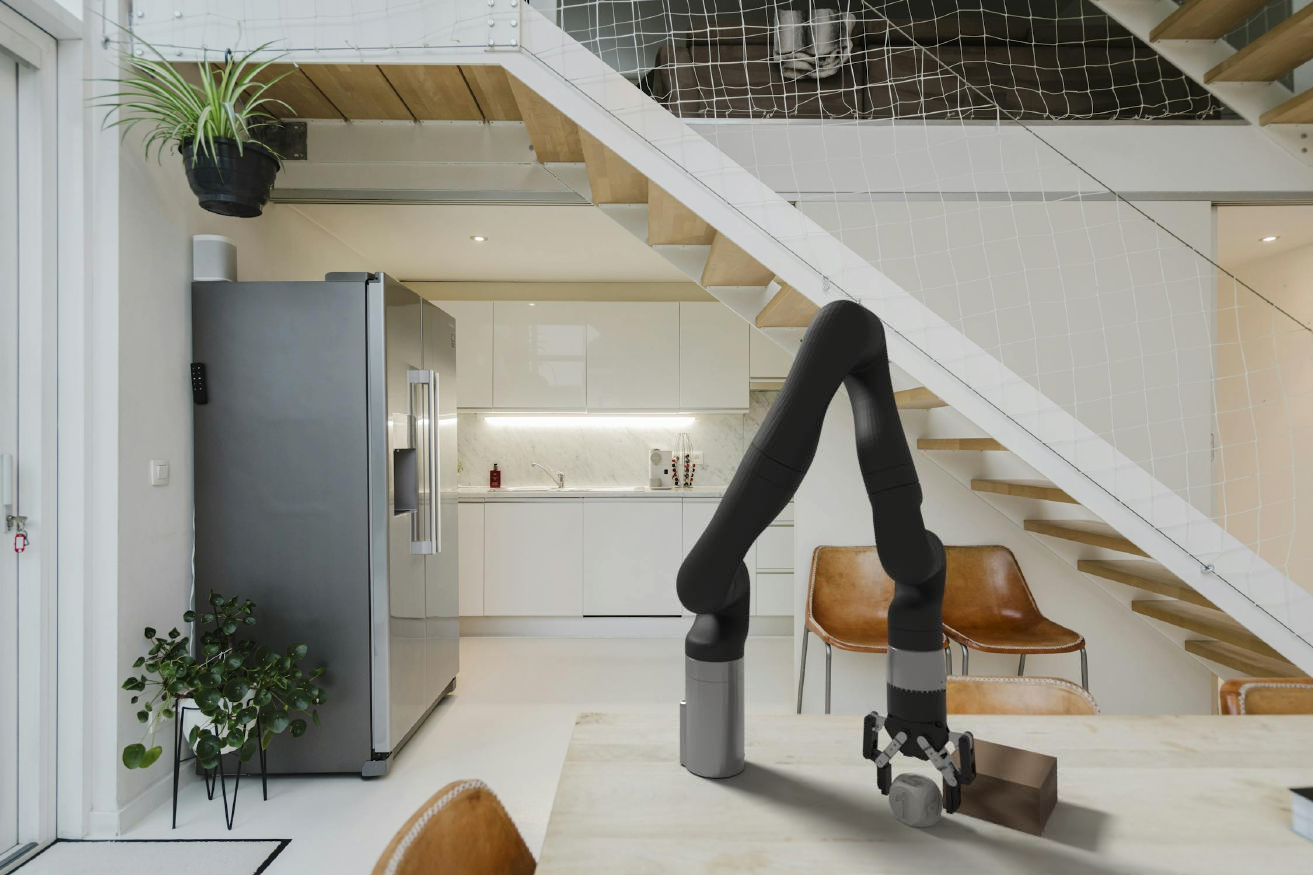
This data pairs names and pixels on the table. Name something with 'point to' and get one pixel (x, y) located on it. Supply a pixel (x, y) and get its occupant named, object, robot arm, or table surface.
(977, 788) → the pedestal
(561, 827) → the table surface
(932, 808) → the die
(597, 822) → the table surface
